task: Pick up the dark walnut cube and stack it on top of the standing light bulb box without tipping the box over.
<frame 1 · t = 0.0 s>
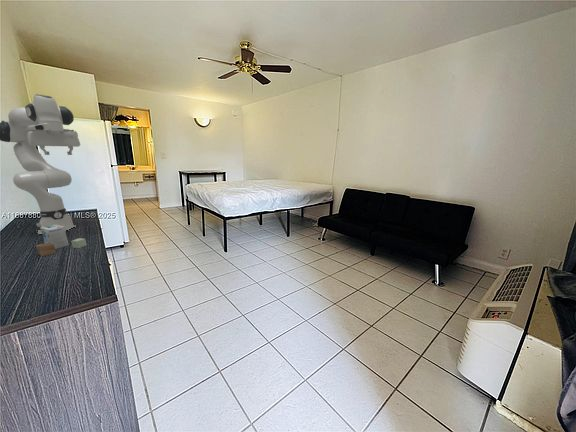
hand: (59, 154, 127), 48 cm above the table, tool pointing down, fingers open, 8 cm apart
sage block: (80, 246, 124), on the table
light bulb box: (57, 246, 126), on the table
walnut cube: (47, 253, 116), on the table
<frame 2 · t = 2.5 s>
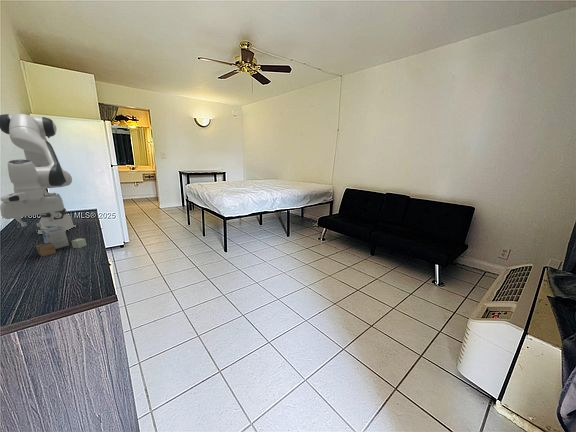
hand: (38, 223, 112), 16 cm above the table, tool pointing down, fingers open, 8 cm apart
nothing on the table moved.
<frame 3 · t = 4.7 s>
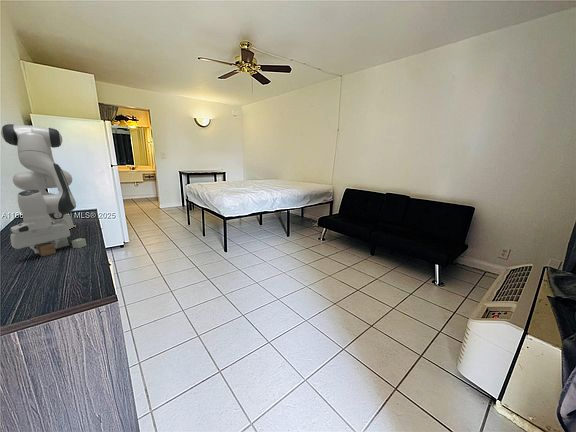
hand: (46, 250, 115), 2 cm above the table, tool pointing down, fingers closed on walnut cube, 5 cm apart
walnut cube: (47, 253, 116), on the table, touching gripper
everything else where it was.
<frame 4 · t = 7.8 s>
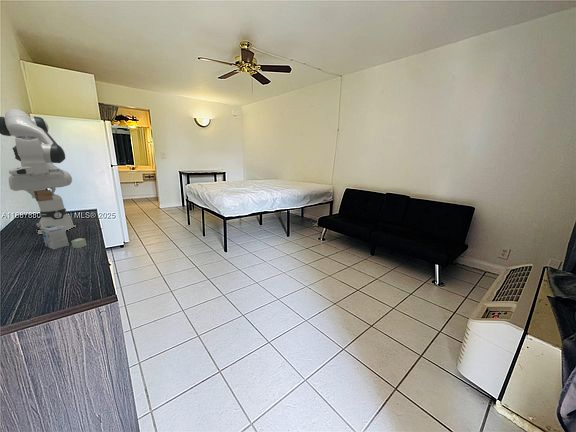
hand: (43, 197, 120), 27 cm above the table, tool pointing down, fingers closed on walnut cube, 5 cm apart
walnut cube: (44, 200, 120), point 25 cm above the table, touching gripper
everything else where it was.
when the fingers open (14 cm above the table, at t = 10.9 s): walnut cube drops 2 cm, resting on light bulb box.
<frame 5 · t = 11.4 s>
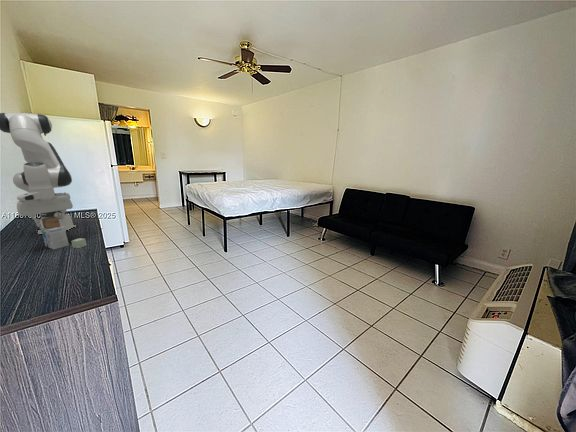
hand: (50, 220, 123), 14 cm above the table, tool pointing down, fingers open, 8 cm apart
light bulb box: (57, 246, 126), on the table, touching walnut cube
walnut cube: (52, 227, 123), point 11 cm above the table, touching light bulb box
everything else where it was.
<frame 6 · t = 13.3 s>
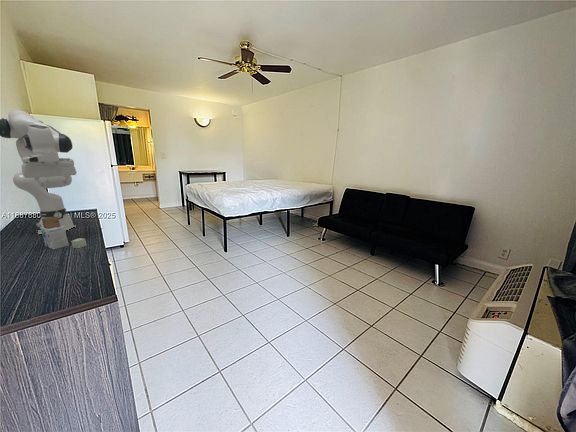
hand: (54, 185, 123), 32 cm above the table, tool pointing down, fingers open, 8 cm apart
nothing on the table moved.
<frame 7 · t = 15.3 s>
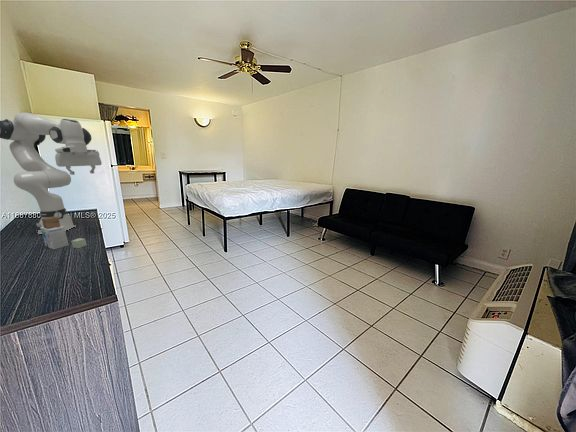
hand: (82, 174, 136), 37 cm above the table, tool pointing down, fingers open, 8 cm apart
nothing on the table moved.
at the end: walnut cube inside the target area on the light bulb box (0.2 cm from its centre), point 11.0 cm above the light bulb box's base; light bulb box tilted 0°; the gripper is holding nothing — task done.
